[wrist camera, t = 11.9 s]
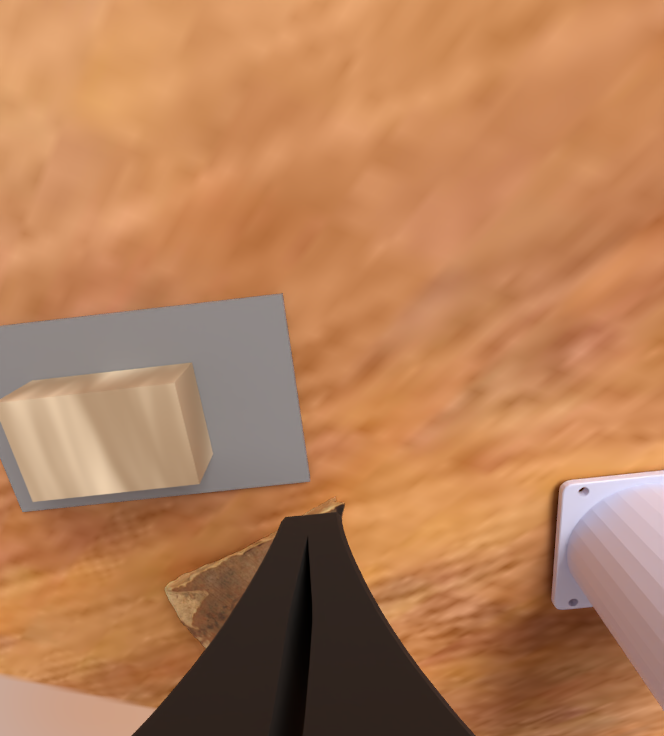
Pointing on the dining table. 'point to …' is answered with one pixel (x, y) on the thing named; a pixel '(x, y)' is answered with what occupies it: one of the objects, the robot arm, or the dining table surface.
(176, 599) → the shard
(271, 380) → the felt mat
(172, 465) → the beech block
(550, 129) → the dining table surface
